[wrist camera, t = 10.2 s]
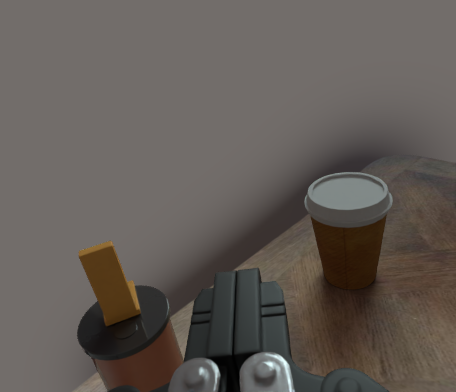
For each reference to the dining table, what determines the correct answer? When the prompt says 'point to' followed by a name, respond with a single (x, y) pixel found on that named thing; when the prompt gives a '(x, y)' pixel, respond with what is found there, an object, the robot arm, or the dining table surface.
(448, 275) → the dining table surface
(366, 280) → the disposable coffee cup
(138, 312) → the slider
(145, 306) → the tumbler
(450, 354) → the dining table surface
